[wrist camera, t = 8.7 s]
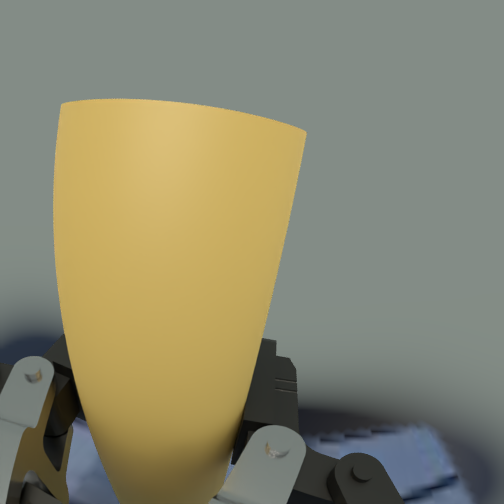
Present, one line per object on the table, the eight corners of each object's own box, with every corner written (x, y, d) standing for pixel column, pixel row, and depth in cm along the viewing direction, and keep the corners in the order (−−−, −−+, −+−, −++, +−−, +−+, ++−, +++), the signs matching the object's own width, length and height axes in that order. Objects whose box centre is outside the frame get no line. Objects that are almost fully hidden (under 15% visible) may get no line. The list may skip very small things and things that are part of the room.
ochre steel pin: (113, 527, 8) (8, 105, 3) (138, 463, 13) (130, 115, 7) (206, 553, 8) (326, 124, 3) (219, 484, 12) (298, 137, 7)
